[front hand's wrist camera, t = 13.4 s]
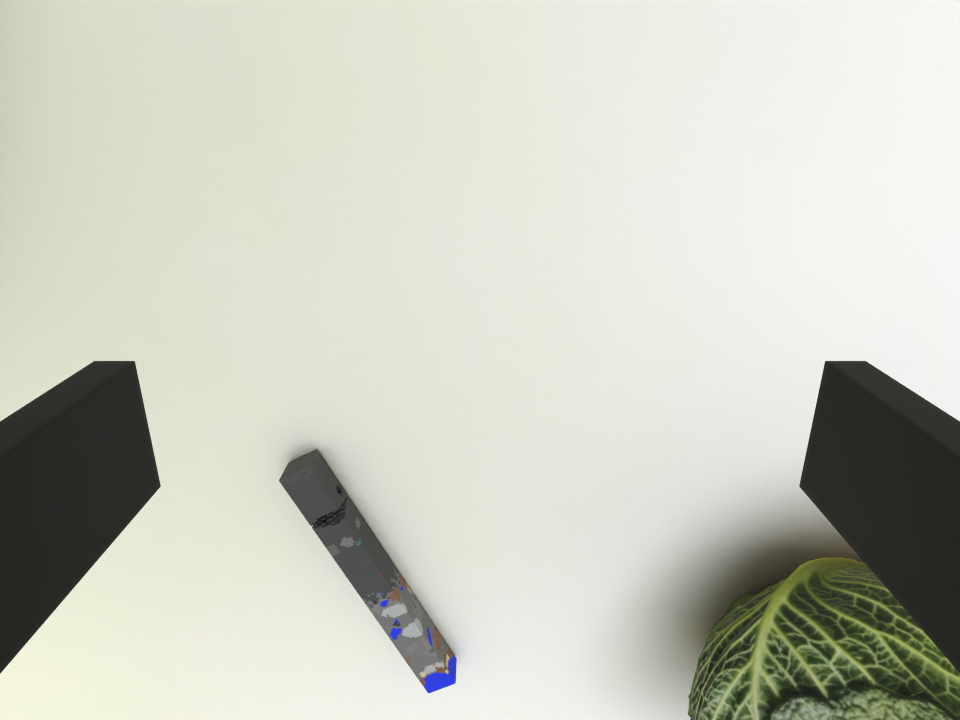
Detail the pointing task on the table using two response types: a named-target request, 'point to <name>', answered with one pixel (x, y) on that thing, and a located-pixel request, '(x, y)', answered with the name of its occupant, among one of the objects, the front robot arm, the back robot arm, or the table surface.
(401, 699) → the table surface
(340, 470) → the table surface
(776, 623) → the vegetable
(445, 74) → the table surface
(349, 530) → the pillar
